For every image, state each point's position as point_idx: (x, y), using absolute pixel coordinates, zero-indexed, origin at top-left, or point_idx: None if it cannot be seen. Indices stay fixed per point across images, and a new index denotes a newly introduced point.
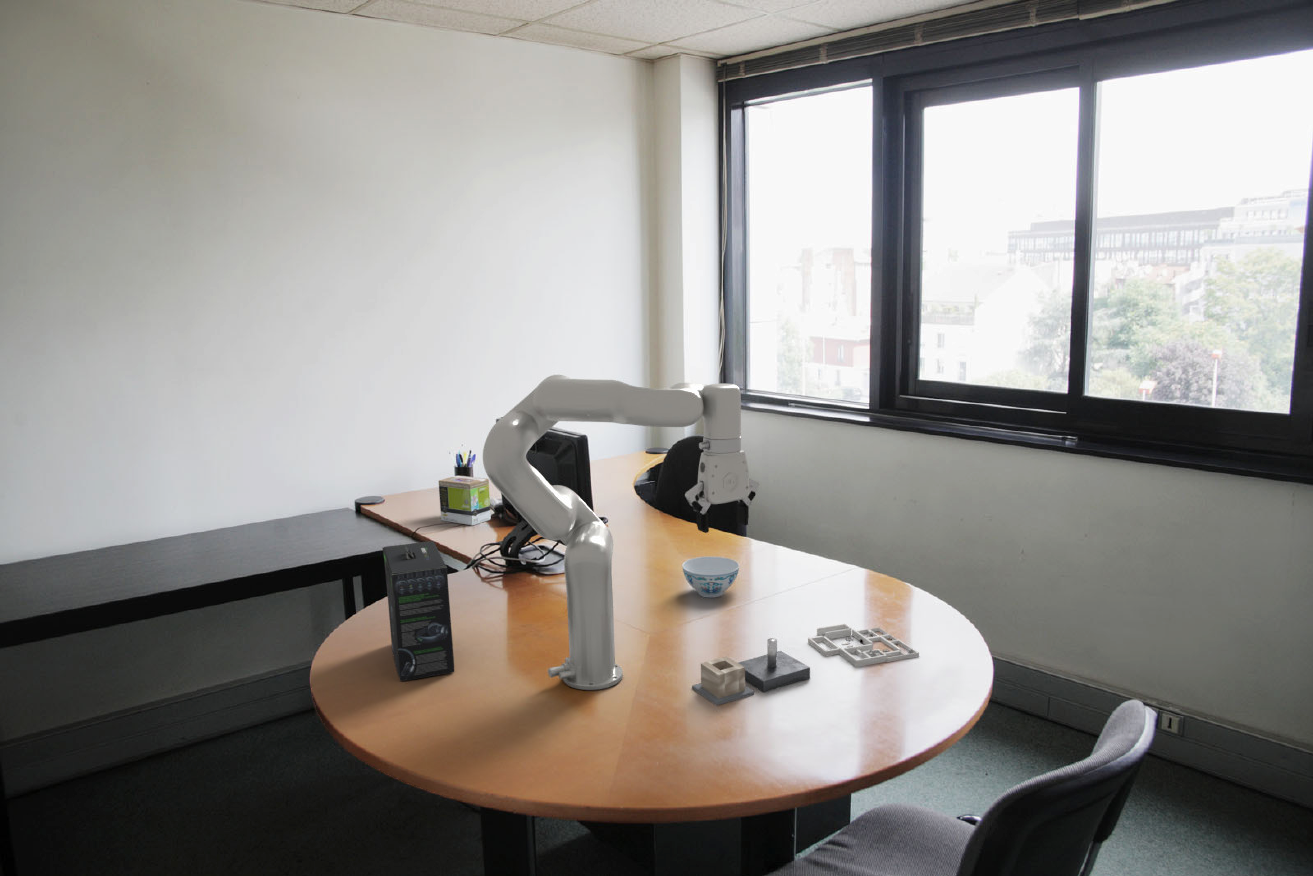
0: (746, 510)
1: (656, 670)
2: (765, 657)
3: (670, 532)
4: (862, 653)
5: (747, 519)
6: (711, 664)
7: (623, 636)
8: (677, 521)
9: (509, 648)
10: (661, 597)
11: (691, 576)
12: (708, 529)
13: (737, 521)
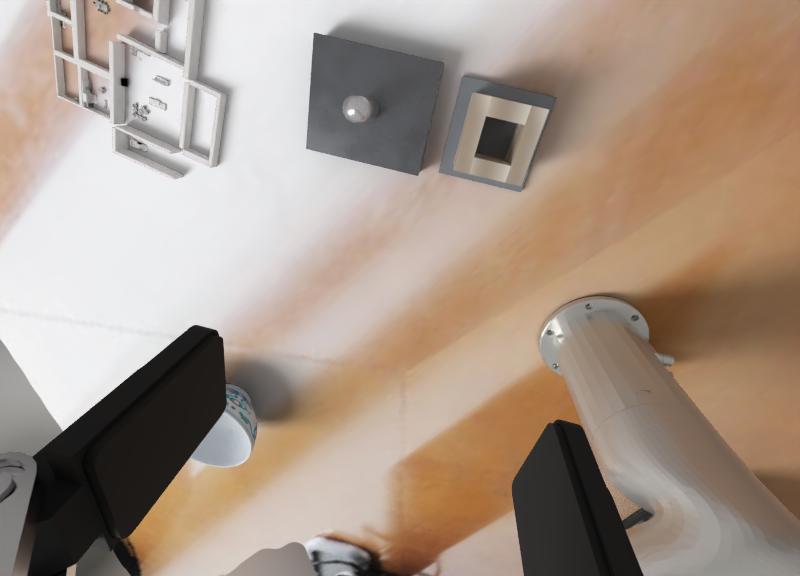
0: (107, 418)
1: (500, 285)
2: (351, 148)
3: (163, 529)
4: (160, 19)
5: (171, 350)
6: (509, 165)
7: (437, 394)
8: (137, 539)
9: None
10: (301, 433)
11: (252, 433)
12: (558, 437)
13: (223, 406)
